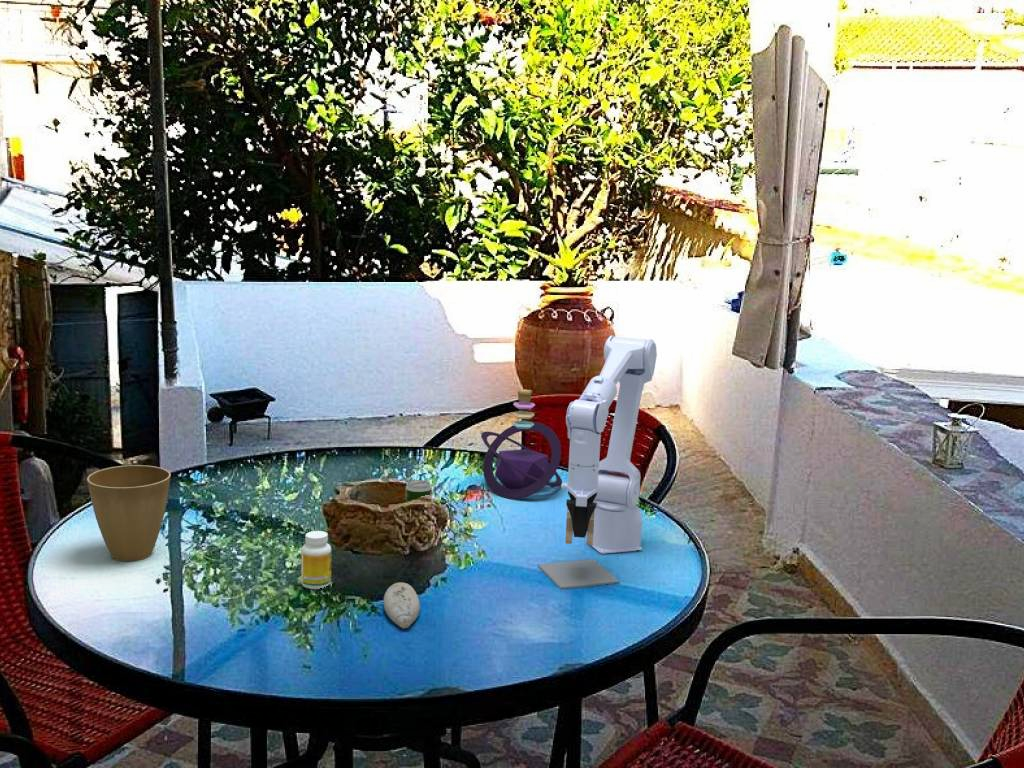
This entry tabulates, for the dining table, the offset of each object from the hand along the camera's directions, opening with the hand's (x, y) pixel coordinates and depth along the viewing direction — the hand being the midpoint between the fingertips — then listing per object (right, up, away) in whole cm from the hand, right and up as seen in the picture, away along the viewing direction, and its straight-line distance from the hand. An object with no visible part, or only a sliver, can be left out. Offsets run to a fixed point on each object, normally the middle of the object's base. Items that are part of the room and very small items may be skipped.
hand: (580, 531), depth 190 cm
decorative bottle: (-11, +2, +57) cm, 58 cm away
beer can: (-33, -4, +18) cm, 38 cm away
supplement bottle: (-49, -9, -8) cm, 50 cm away
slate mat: (0, -9, +2) cm, 9 cm away
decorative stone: (-32, -11, -19) cm, 39 cm away
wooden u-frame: (0, -2, 0) cm, 2 cm away
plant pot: (-87, -5, +2) cm, 87 cm away
